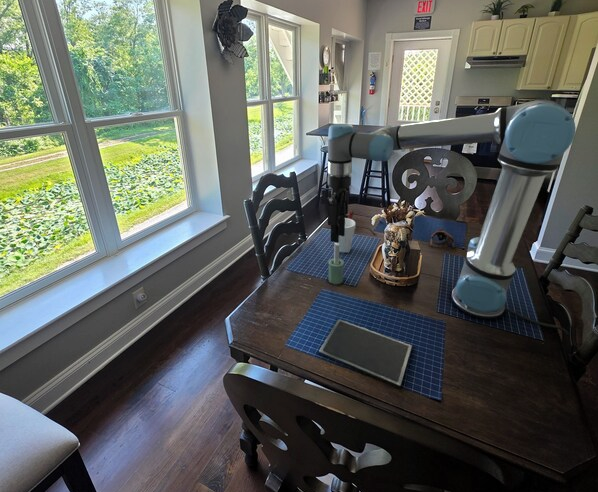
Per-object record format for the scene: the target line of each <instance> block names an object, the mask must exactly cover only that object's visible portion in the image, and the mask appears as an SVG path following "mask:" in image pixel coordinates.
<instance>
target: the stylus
mask: <svg viewBox="0 0 598 492" xmlns="http://www.w3.org/2000/svg"><path fill="white" fill-rule="evenodd" d="M339 245H340V244H339V243H335V242H334V243H333V258H334V265H339V259H340V252H339Z"/></svg>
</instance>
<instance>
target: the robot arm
mask: <svg viewBox="0 0 598 492" xmlns="http://www.w3.org/2000/svg"><path fill="white" fill-rule="evenodd" d="M327 134H328V135H327V162H326V166H327V186H328V187H329V188H331V192H330V197H327V199H326V202H327V226H329V227H330V242H332V243H335V242H336V243H338V242H339V235H340V236H345V218H348V219H349V216H348V215H349V196H350V187H351V185H352V175H351V174H352V170H353V169H352V168H353V158H354V159H359V160H367V161H373V162H388V161H389V160H390V159H391V157H392V155H393V151H402V150H412V149H424V148H435V147H446V146H447V147H448V146H459V145H469V144H480V143H491V142H492V143H493V142H495V143H496V144H498V145H500V146H501V147H500V151H499V154H498V157H497V161H498V162H499V164H500V166H501V171H500V174H499V177H498V179H497V182H496V186H495V189H494V192H493V195H492V198H491V201H490V204H489V207H488V210H487V213H486V216H485V219H484V222H483V224H482V228H481V230H480V234H479V236H478V237H473V238H471V239H470V240H469V242H468V245H467V252H466V255H465V259H464V262H463V265H462V268H461V271H460V275H459V277H458V280H457V281H456V284H455V286H454V288H453V289H452V292H451V297H450V298H451V301H452V303H453V305H454V306H455V307H456V308H457V309H458V310H459V311H461V312H462V313H464V314H466V315H468V316H469V317H472V318H476V319H480V320H487V321H488V320H496V319H499V318H501V317H502V316H503V314H504V312H505V311H506V312H508V313H510V314H511V315H514V316H516V317H518V318H521V319H523V320H525V321H528V322H529V323H532V324H534V325H539V326H542V327H546V328H552V329H556V330H559V331H562V332H563V333H564V334H565V335H567V336H568V335H569V336H570V333H569V332H568V331H567V329H565V328H564V327H562V326H559V325H554V324H548V323H544V322H541V321H537V320H534V319H531V318H528V317H526V316H524V315H522V314H520V313H518V312H516V311H514V310H511V309H510V308H507V307H506V306H505V305H506V303H507V300H508V290H509V288H510V285H511V283H512V280H513V278H514V275H515V273H516V266H515V264H514V262H513V258H514V256H515V253H516V252H517V248H518V246H519V243H520V240H521V238H522V236H523V234H524V231H525V227H526V226H527V223H528V220H529V218H530V216H531V214H532V211H533V208H534V205H535V203H536V202H537V201H536V200H537V199H538V196H539V193H540V191H541V188H542V186H543V183H544V181H545V178H546V176H547V175H550V174H551V173H554V172H556V171H557V170H558V167H559V165H560V163H561V161H562V158H563V155H564V154H565V152H567V150H568V149H569V148H570V147H571V146H572V144H573V141H574V139H575V137H576V123H575V119H574V117H573V116H572V114H571V113H570V111H569V110H568V109H566V108H565V107H564V106H563V105H562V104H561V103H559V102H557V101H554V100H550V99H536V100H531V101H528V102H524V103H520V104H516V105H510V106H504V107H499V108H498V109H497V110H496V111H495V112H490V113H483V114H482V113H481V114H475V115H474V114H473V115H468V116H460V117H453V118H446V119H438V120H437V119H436V120H431V121H423V122H416V123H408V124H401V125H386V126H383V127H381V128H378V129H377V130H374V131H372V132H370V133H369V132H356V131H355V130H354V125H352V124H351V123H350V124H349V123H335V124H331V125H330V126H329V128H328V133H327Z"/></svg>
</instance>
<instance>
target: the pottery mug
mask: <svg viewBox="0 0 598 492" xmlns="http://www.w3.org/2000/svg"><path fill="white" fill-rule="evenodd" d="M435 236H436V237H437V241H436V240H434V238H435ZM429 244H430V247H434V248H437V249H439V248H448V244H449V245H451V246H452V249H455V242H454V238H453V236H452V235H451V234H450V233H448V232H447V231H445V230H443V228H438V229H437V230H436V231H434V232H433V233H432V235H430V242H429Z"/></svg>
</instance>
